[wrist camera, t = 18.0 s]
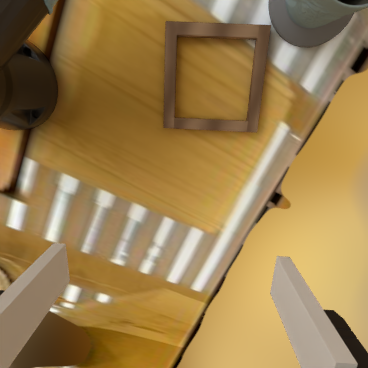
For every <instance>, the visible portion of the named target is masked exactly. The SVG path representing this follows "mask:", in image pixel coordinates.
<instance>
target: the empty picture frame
mask: <svg viewBox="0 0 368 368" xmlns="http://www.w3.org/2000/svg"><path fill="white" fill-rule="evenodd" d="M270 28H271V25H252V24H225V23H199V22H173V21H166V31H165V82H164V128H176V129H197V130H218V131H238V132H257V129H258V121H259V113H260V105H261V98H262V90H263V82H264V74H265V67H266V59H267V51H268V44H269V36H270ZM177 37H197V38H223V39H248V40H256V43H255V52H254V60H253V69H252V78H251V86H250V95H249V104H248V112H247V121H236V120H215V119H194V118H175V89H176V58H177Z"/></svg>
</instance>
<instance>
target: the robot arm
mask: <svg viewBox="0 0 368 368" xmlns="http://www.w3.org/2000/svg"><path fill="white" fill-rule="evenodd" d="M57 1H58V0H0V128H3V129H8V130H23V129H30V128H34V127H36V126H39V125H40V124H42V123H43V122H45V121H46V120H47V119H48V118H49V116H50V115H51V114H52V112H53V110H54V108H55V105H56V101H57V93H58V89H57V81H56V77H55V74H54V71H53V69H52V67H51V65H50V63H49V61H48V60H47V58H46V57H45V55H44V54H43V53H42V52H41V51H40V50H39V49H38V48H37V47H36V46H35V45H33V44H32V43H30V42H29V41H27V39H28V38H29V36H30V35H31V34H32V33H33V31H34V30H35V29H36V28H37V26H38V25H39V24H40V23H41V21H42V20H43V19H44V18H45V16H46V15H47V14H49V15H50V14H51V13H52V12H53V7H54V5H55V4H56V2H57ZM69 281H70V279H69V270H68V261H67V252H66V244H57V243H53V244H52V245H51V246H50V247H49V248H48V249H47V250H46V251H45V252H44V253H43V254H42V255H41V256H40V257H39V258H38V259H37V260H36V261H35V262H34V263H33V264H32V265H31V266H30V267H29V268H28V269H27V270H26V271H25V272H24V273H23V274H22V275H21V276H20V277H19V278H18V279H17V280H16V281H15V282H14V283H13V284H12V285H10V286H9V287H8V288H7V289H6V290H5V291H3V290H0V368H9V366H10V365H11V363H12V362H13V360H14V359H15V358H16V356H17V355H18V353H19V352H20V351H21V349H22V348H23V346H24V345H25V344H26V342H27V341H28V339H29V338H30V336H31V335H32V334H33V332H34V331H35V329H36V328H37V327H38V325H39V324H40V322H41V321H42V319H43V318H44V317H45V315H46V314H47V312H48V311H49V310H50V308H51V307H52V305H53V304H54V302H55V301H56V300H57V298H58V297H59V295H60V294H61V293H62V291H63V290H64V288H65V287H66V285H67V284H68V283H69ZM270 294H271V296H272V298H273V301H274V303H275V306H276V308H277V310H278V313H279V315H280V318H281V320H282V323H283V325H284V328H285V330H286V332H287V335H288V337H289V340H290V342H291V344H292V347H293V349H294V352H295V354H296V357H297V359H298V361H299V364H300V366H301V368H368V353H367V351H366V350H365V349H364V347H363V346H362V344H361V343H360V342H359V340H358V339H357V337H356V336H355V334H354V333H353V332H352V331H351V329H350V327H349V326H348V324H347V323H346V322H345V320H344V319H343V318H342V317H340V316H339V315H338V314H337V313H336V312H335V311H334V310H323V309H322V307H321V306H320V304H319V302H318V301H317V300H316V298H315V296H314V295H313V293H312V291H311V290H310V288H309V287H308V285H307V284H306V282H305V280H304V279H303V277H302V276H301V274H300V273H299V271H298V270H297V268H296V266H295V265H294V263H293V262H292V260H291V258H290V257H280V256H277V259H276V264H275V270H274V275H273V281H272V287H271V293H270Z"/></svg>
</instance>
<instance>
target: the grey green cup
mask: <svg viewBox="0 0 368 368" xmlns="http://www.w3.org/2000/svg"><path fill="white" fill-rule="evenodd" d="M285 2H286V9H287V12H288V15H289V17H290V18H291V20H292V21H293V22H294V23H295V24H297V25H298V26H301V27H303V28H317V27H321V26H323V25H326V24H328V23H330V22H332V21H335V20H337V19H340V18H341V17H342V16H345V15H350V14H352V13H354V12H357V11H360V10H362V9H365V8H368V0H285Z"/></svg>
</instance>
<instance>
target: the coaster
mask: <svg viewBox="0 0 368 368" xmlns="http://www.w3.org/2000/svg"><path fill="white" fill-rule="evenodd" d="M269 14H270V18H271V22H272V24H273V26H274V28H275V30H276V31H277V33H278V34H279V35H280V36H281V37H282V38H283V39H284V40H285V41H287V42H288V43H290V44H293V45H295V46H299V47H312V46H317V45H320V44H322V43H325V42H327V41H329V40H330V39H332V38H334V37H335V36H336V35H337V34H339V33H340V32H341V31H342V30H343V29H344V27H345V26H346V25H347V24H348V22H349V21H350V19H351V18H352V16H353V14H354V13H352V14H350V15H345V16H342V17H341V18H340V19H337V20H335V21H332V22H330V23H328V24H326V25H323V26H321V27H317V28H303V27H301V26H298V25H297V24H295V23H294V22H293V21H292V20H291V18H290V17H289V15H288V12H287V9H286V2H285V0H269Z"/></svg>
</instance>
